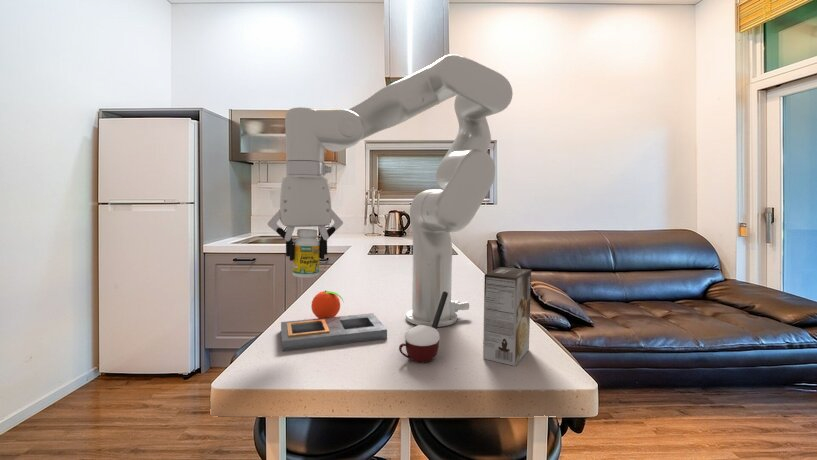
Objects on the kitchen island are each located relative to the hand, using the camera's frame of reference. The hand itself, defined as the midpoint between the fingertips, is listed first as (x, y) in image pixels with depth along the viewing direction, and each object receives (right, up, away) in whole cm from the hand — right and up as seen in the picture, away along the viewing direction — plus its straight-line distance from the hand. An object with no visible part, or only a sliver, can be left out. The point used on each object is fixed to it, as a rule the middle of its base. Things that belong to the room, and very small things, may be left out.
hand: (306, 258), depth 79 cm
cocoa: (+24, -18, -9) cm, 31 cm away
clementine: (+2, -16, +14) cm, 21 cm away
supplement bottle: (0, -4, 0) cm, 4 cm away
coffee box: (+40, -18, -7) cm, 44 cm away
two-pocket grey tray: (+5, -17, +3) cm, 18 cm away
